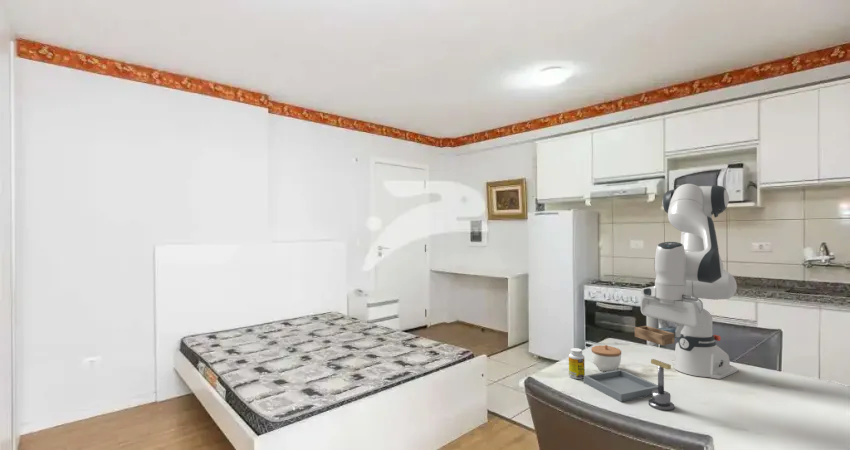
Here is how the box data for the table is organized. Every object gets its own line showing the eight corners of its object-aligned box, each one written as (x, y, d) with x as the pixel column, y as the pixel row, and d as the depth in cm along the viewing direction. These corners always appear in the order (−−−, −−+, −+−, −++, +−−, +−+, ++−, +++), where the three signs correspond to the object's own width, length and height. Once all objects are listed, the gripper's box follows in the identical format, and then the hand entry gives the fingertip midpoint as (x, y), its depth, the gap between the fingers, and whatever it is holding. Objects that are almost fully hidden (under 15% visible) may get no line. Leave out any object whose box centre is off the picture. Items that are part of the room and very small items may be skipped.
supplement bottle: (578, 380, 148) (578, 352, 148) (565, 376, 153) (565, 349, 153) (587, 377, 151) (587, 350, 151) (575, 373, 156) (574, 346, 156)
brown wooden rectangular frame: (689, 340, 128) (689, 331, 128) (662, 345, 123) (662, 335, 123) (661, 332, 137) (661, 323, 137) (634, 336, 133) (634, 327, 133)
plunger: (643, 402, 130) (642, 360, 130) (659, 399, 132) (659, 357, 132) (662, 412, 123) (662, 367, 123) (679, 408, 126) (679, 364, 125)
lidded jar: (623, 367, 161) (622, 343, 161) (619, 376, 152) (619, 351, 152) (594, 362, 167) (594, 339, 167) (589, 371, 158) (588, 346, 158)
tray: (620, 375, 152) (620, 369, 152) (660, 393, 136) (660, 386, 136) (583, 382, 147) (583, 375, 146) (621, 402, 131) (621, 394, 131)
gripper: (709, 297, 123) (710, 342, 123) (650, 287, 142) (651, 326, 142) (694, 298, 121) (695, 345, 121) (637, 288, 140) (637, 328, 140)
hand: (671, 335), depth 132 cm, fingers closed on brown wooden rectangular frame, 2 cm apart
